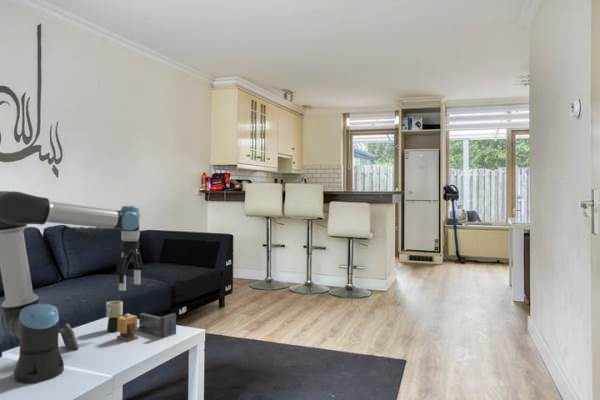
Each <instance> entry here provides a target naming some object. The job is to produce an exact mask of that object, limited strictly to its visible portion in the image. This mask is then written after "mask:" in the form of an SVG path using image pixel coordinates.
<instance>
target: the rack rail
mask: <svg viewBox="0 0 600 400" xmlns="http://www.w3.org/2000/svg"><path fill="white" fill-rule="evenodd" d="M135 331H137V332H139V333H143V334H146V335H150V336H155V337H158V338H162V339H166V338H168V337H171V336H173V335H176V334H177V314H176V313H169V314H166V315H164V316H157V315H152V314H148V313H145V312H142V313H139V314H138V326H137V330H134V332H135Z"/></svg>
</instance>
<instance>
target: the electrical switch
mask: <svg viewBox="0 0 600 400" xmlns="http://www.w3.org/2000/svg"><path fill="white" fill-rule="evenodd" d="M58 331H59V333H60V335H61V337H62V340H63V344H64V346H65V348H66V347H67V348H66V349H67V351H68V352H70V351H73V350H79V349H80V348H79V347H80V346H79V345H78V341H77V338H76V335H75V332H74V330H73V328H72V326H71V325H70V324H69V323H66V324H65V326H64V327H62V328H58Z"/></svg>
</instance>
